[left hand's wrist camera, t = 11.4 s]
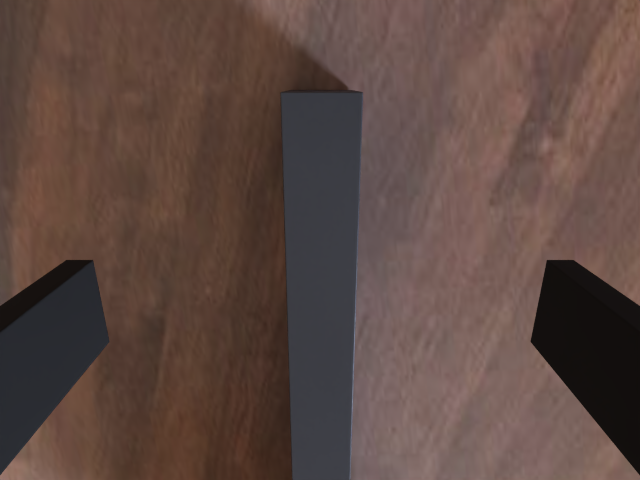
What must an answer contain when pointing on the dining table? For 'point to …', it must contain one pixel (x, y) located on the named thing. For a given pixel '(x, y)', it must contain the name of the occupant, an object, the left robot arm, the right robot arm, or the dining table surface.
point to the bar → (321, 273)
